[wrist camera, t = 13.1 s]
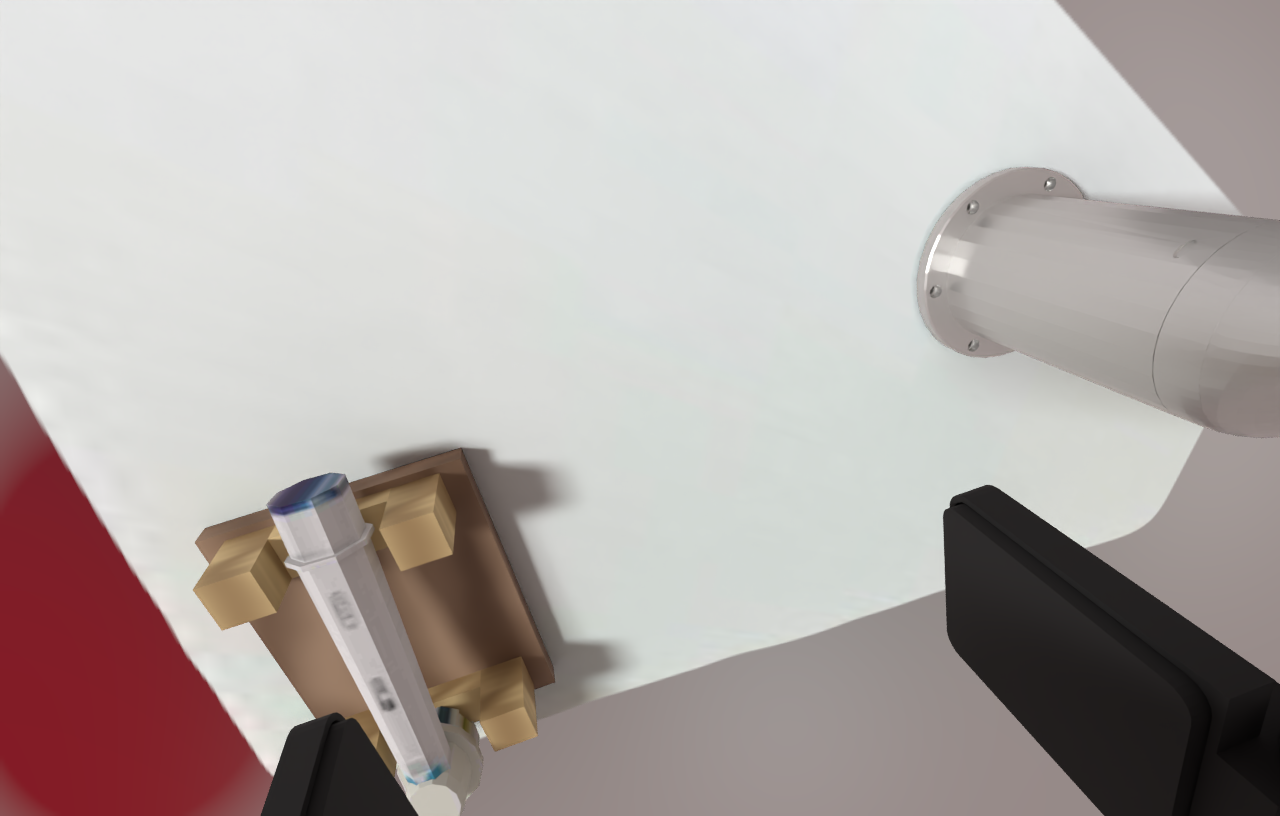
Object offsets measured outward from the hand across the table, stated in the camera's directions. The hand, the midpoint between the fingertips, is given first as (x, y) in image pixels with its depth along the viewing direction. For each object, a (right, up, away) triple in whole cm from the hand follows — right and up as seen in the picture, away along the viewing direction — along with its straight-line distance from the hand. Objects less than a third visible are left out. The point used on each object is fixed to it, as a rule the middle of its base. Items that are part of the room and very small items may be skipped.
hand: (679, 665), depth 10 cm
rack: (-17, -10, +34) cm, 39 cm away
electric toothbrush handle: (-16, -11, +31) cm, 37 cm away
